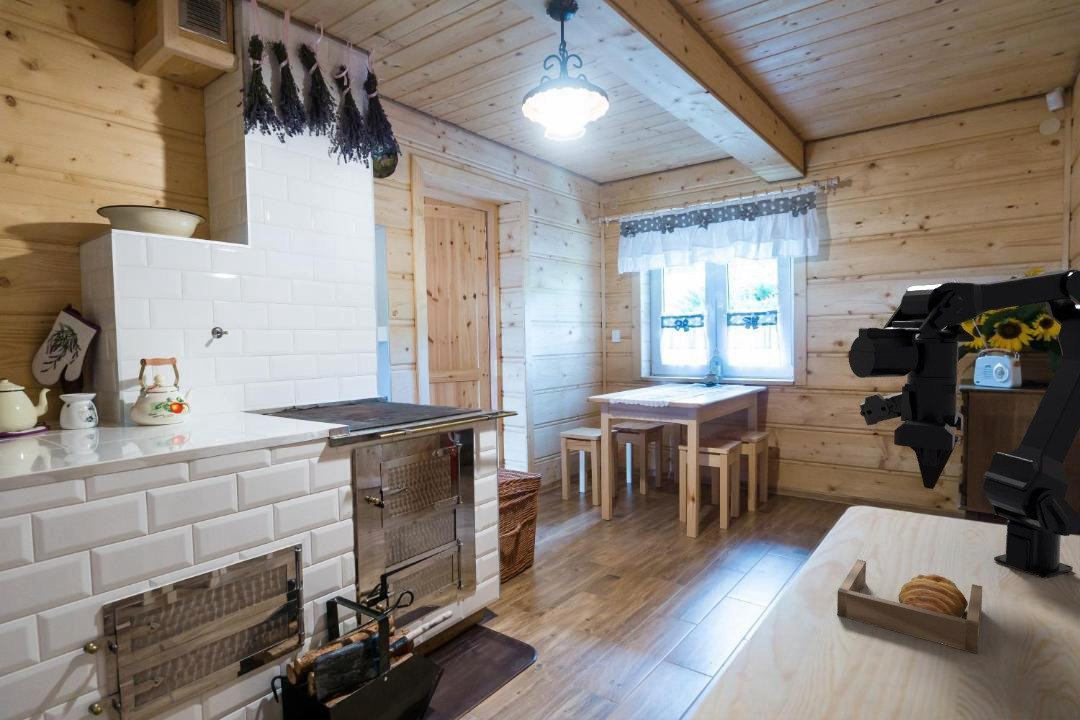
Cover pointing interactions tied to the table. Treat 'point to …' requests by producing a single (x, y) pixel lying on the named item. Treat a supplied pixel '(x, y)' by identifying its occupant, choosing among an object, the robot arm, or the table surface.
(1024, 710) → the table surface
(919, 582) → the pastry
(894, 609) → the wooden frame
